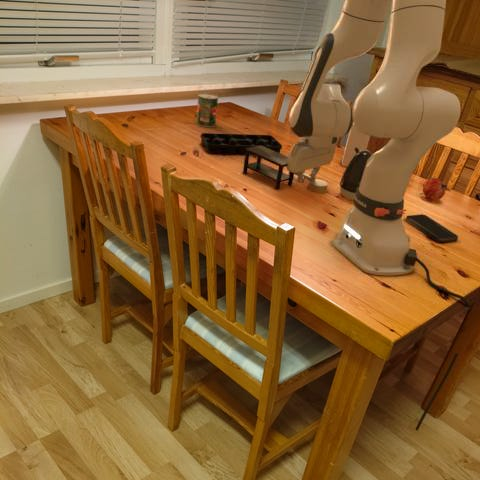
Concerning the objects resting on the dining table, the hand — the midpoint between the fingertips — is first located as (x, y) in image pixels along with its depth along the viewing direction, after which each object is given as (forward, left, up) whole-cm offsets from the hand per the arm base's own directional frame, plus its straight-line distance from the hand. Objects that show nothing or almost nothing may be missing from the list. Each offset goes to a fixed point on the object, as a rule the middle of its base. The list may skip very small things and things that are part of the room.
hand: (306, 180), depth 157 cm
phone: (-32, -27, -1) cm, 42 cm away
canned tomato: (+61, +21, -1) cm, 64 cm away
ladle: (0, 0, -1) cm, 1 cm away
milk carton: (+20, -26, -1) cm, 33 cm away
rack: (+4, +12, -1) cm, 13 cm away
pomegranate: (-10, -41, -1) cm, 43 cm away
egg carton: (+32, +14, -1) cm, 34 cm away
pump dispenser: (-10, -12, -1) cm, 16 cm away
